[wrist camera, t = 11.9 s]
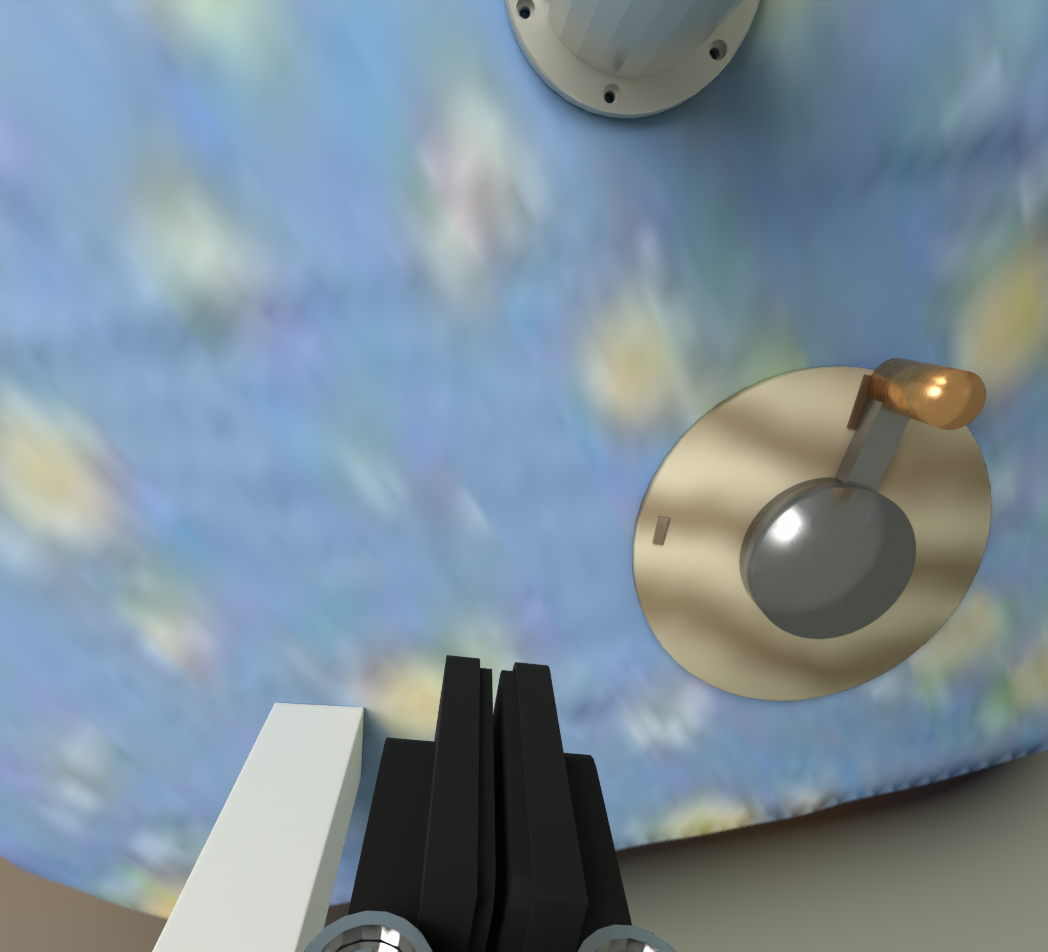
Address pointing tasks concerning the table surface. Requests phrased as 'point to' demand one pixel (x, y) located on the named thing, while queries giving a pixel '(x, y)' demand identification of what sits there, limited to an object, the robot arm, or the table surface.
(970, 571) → the dial plate
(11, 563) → the table surface
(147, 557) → the table surface
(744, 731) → the table surface
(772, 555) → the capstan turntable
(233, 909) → the milk
